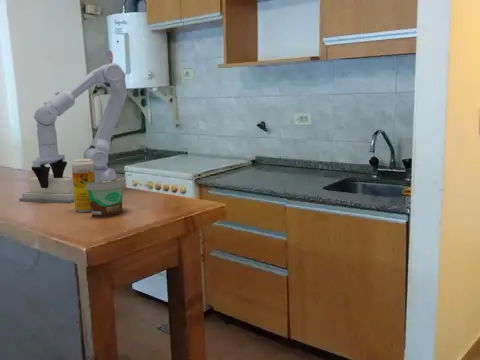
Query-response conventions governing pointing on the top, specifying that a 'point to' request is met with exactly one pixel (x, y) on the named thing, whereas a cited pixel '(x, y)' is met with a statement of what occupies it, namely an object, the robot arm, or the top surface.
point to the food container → (106, 197)
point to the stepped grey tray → (47, 197)
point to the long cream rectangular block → (52, 186)
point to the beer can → (82, 183)
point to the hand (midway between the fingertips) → (51, 185)
